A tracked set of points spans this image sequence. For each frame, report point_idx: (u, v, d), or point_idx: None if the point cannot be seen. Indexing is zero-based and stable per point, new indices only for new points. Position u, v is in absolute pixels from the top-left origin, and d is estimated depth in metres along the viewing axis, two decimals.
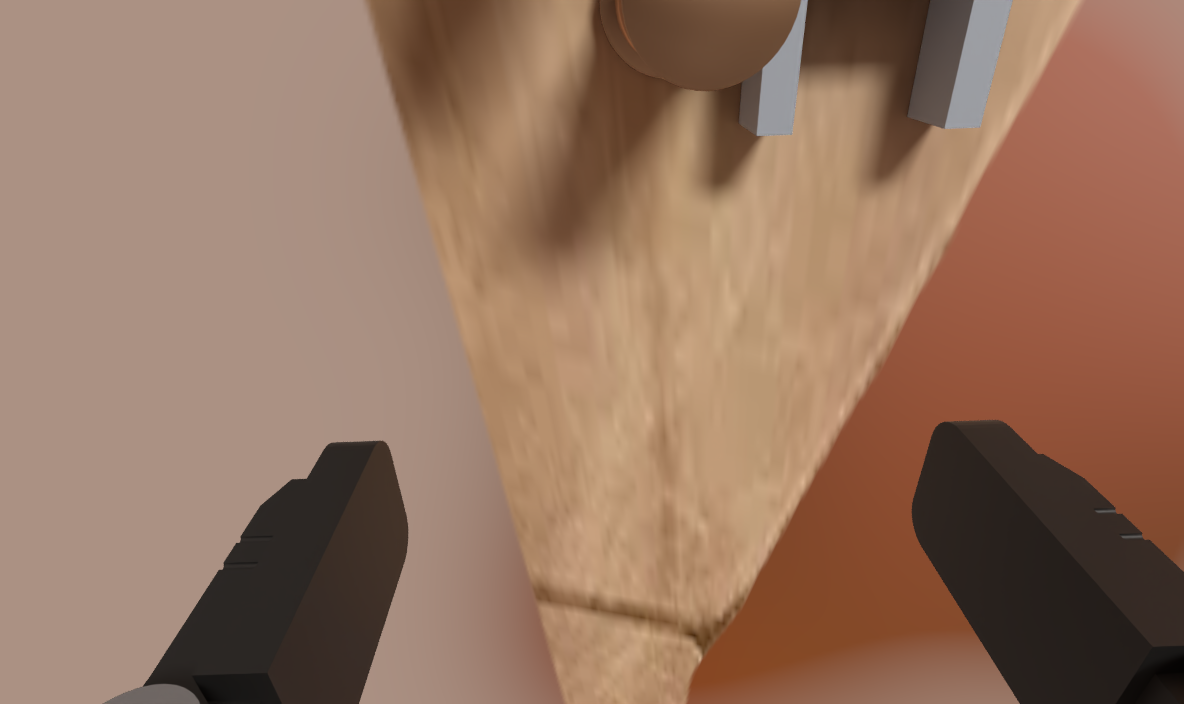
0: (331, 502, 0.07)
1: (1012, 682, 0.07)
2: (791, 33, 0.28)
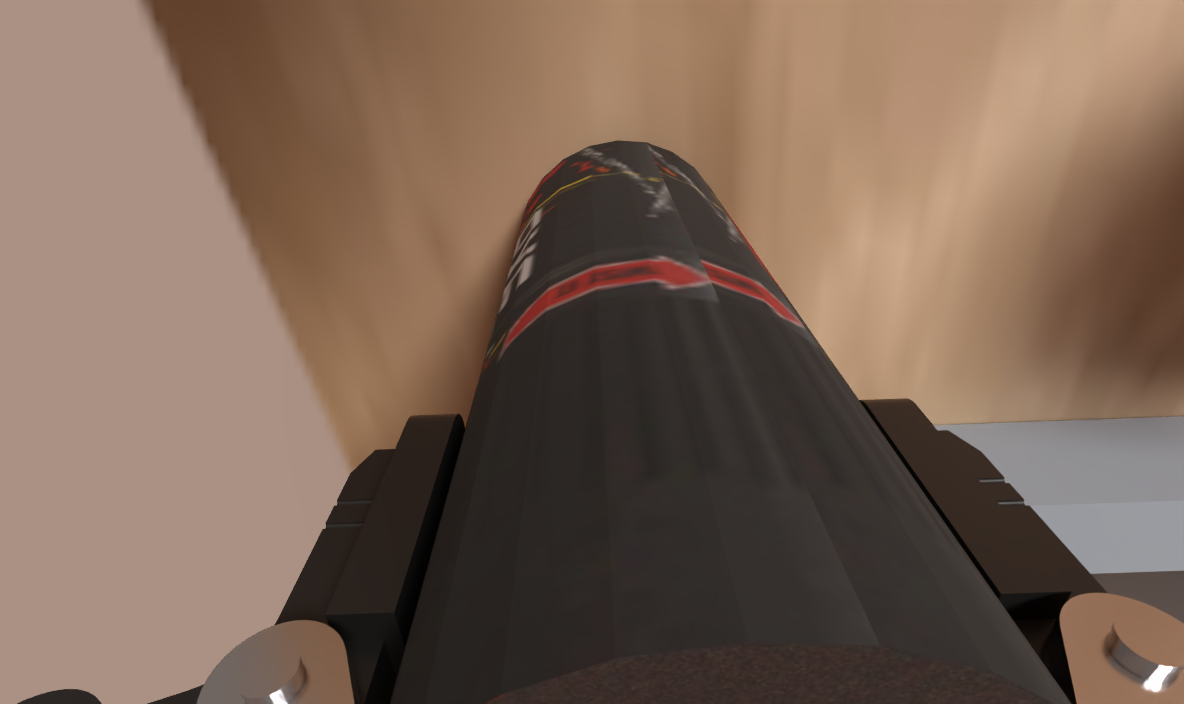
0: (423, 467, 0.08)
1: None
2: None
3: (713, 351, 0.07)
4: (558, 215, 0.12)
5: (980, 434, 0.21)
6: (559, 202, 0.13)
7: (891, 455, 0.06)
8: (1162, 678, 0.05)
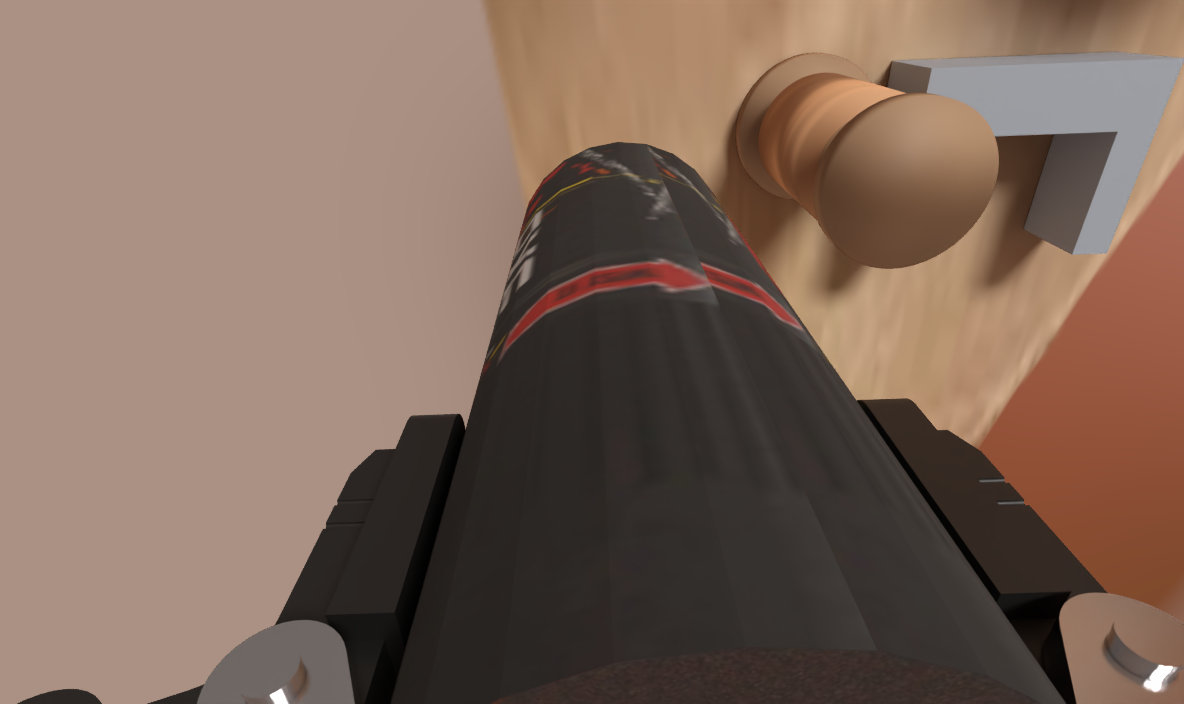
0: (423, 467, 0.08)
1: None
2: None
3: (712, 354, 0.07)
4: (558, 217, 0.12)
5: (950, 59, 0.30)
6: (559, 204, 0.13)
7: (890, 459, 0.06)
8: (1162, 678, 0.05)
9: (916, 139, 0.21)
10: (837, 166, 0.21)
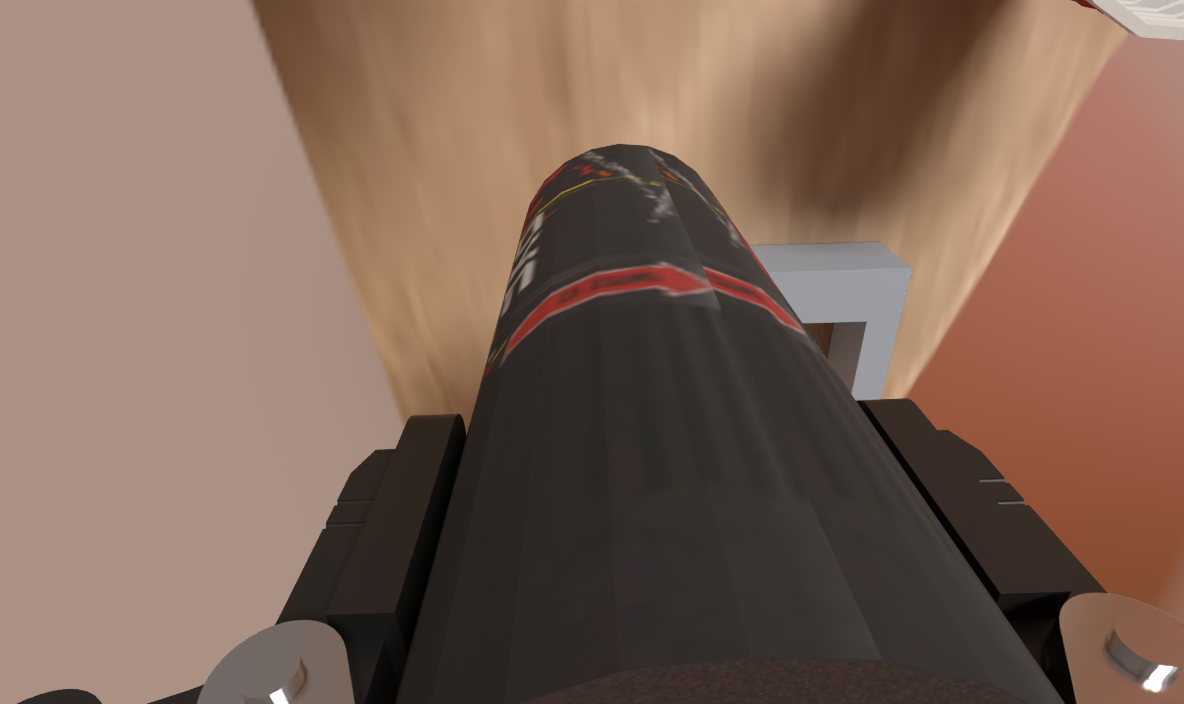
0: (423, 467, 0.08)
1: None
2: None
3: (715, 359, 0.07)
4: (560, 220, 0.12)
5: None
6: (561, 206, 0.13)
7: (893, 464, 0.06)
8: (1162, 678, 0.05)
9: None
10: None
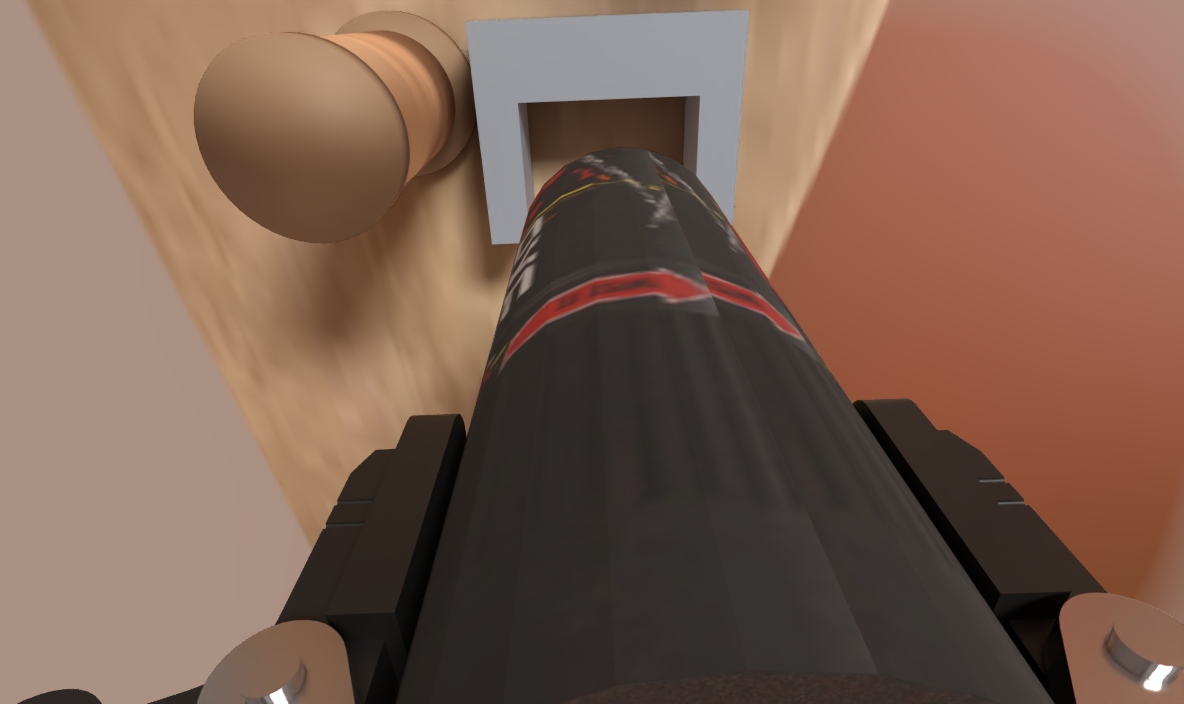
0: (423, 467, 0.08)
1: None
2: (507, 142, 0.26)
3: (713, 368, 0.07)
4: (559, 224, 0.12)
5: None
6: (560, 211, 0.13)
7: (890, 473, 0.06)
8: (1162, 678, 0.05)
9: (280, 86, 0.18)
10: (202, 119, 0.18)
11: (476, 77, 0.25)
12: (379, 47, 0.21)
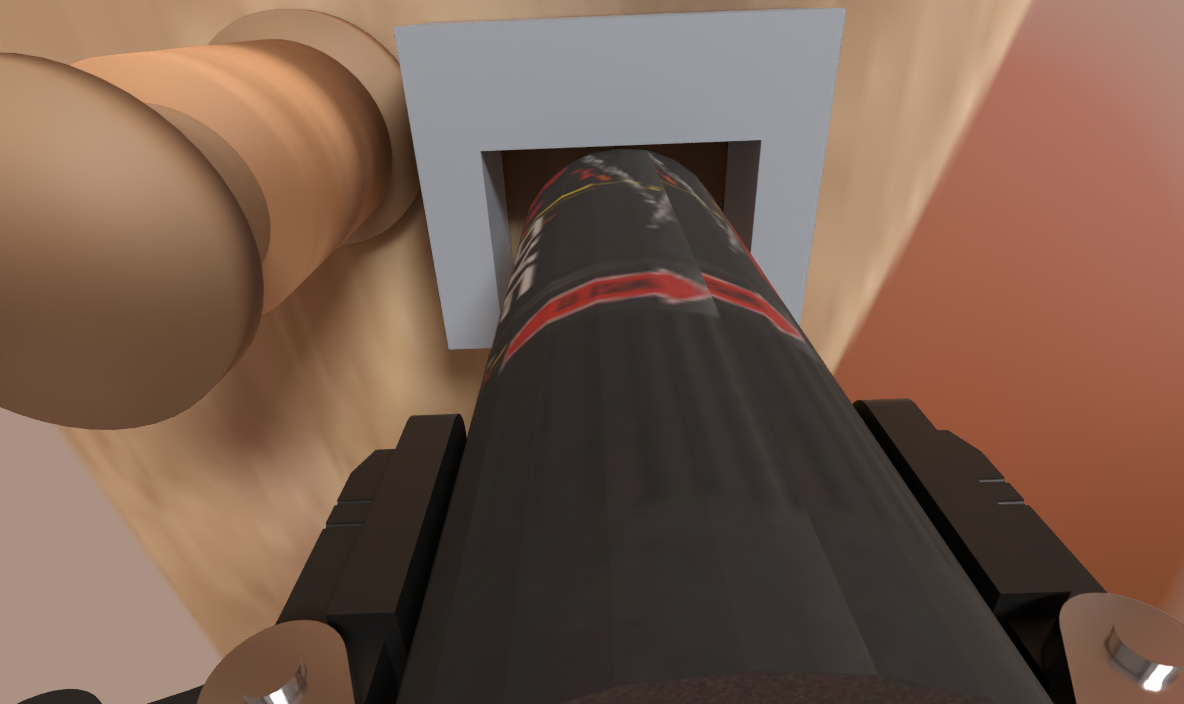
0: (424, 467, 0.08)
1: None
2: (467, 208, 0.17)
3: (713, 368, 0.07)
4: (559, 224, 0.12)
5: None
6: (560, 211, 0.13)
7: (890, 473, 0.06)
8: (1162, 678, 0.05)
9: None
10: None
11: (415, 113, 0.16)
12: (232, 72, 0.12)
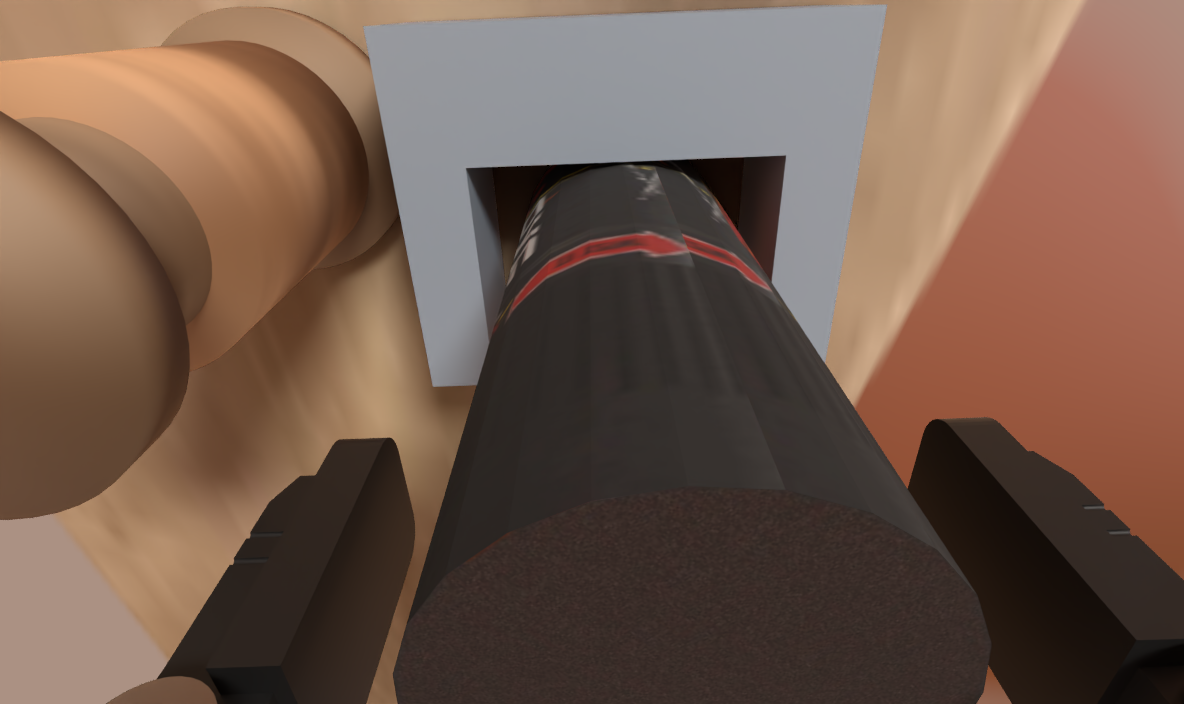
0: (340, 498, 0.07)
1: (1001, 676, 0.07)
2: (451, 232, 0.15)
3: (684, 303, 0.08)
4: (559, 201, 0.14)
5: (503, 18, 0.16)
6: (560, 190, 0.14)
7: (830, 385, 0.07)
8: None
9: None
10: None
11: (390, 125, 0.14)
12: (164, 80, 0.10)
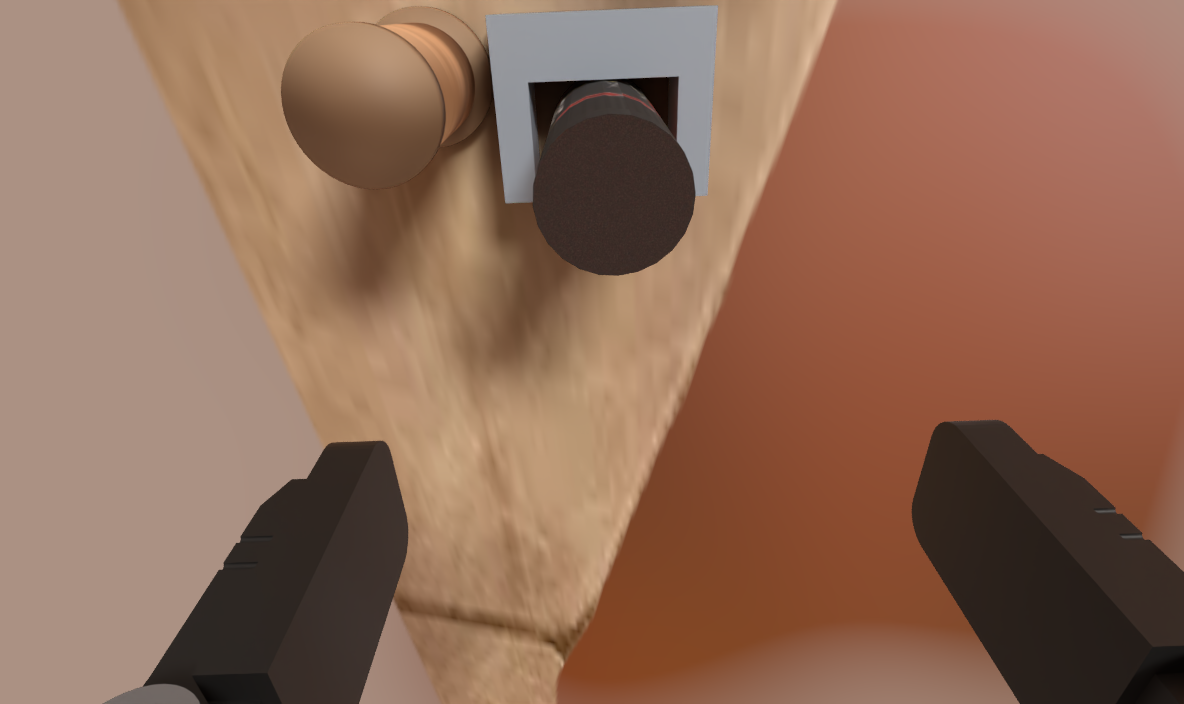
0: (331, 502, 0.07)
1: (1012, 681, 0.07)
2: (519, 115, 0.31)
3: (617, 101, 0.24)
4: (572, 94, 0.30)
5: None
6: (572, 92, 0.31)
7: (661, 122, 0.23)
8: None
9: (349, 63, 0.23)
10: (287, 89, 0.23)
11: (494, 61, 0.30)
12: (418, 35, 0.27)
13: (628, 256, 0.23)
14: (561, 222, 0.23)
